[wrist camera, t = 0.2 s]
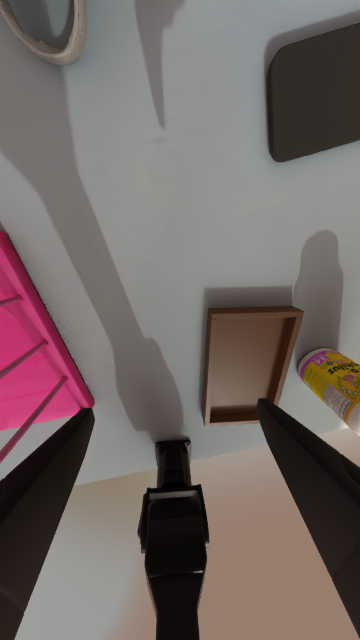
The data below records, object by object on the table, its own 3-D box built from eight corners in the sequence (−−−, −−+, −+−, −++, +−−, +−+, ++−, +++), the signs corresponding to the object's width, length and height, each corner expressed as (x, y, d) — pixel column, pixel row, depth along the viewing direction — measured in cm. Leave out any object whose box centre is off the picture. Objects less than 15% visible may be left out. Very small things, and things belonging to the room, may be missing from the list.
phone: (432, 117, 16) (274, 163, 16) (420, 123, 17) (269, 167, 17) (461, -11, 13) (270, 48, 14) (445, 4, 14) (265, 59, 14)
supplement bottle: (342, 344, 26) (488, 423, 14) (330, 379, 29) (445, 471, 17) (300, 347, 26) (412, 429, 14) (291, 382, 28) (379, 477, 16)
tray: (266, 411, 31) (273, 422, 29) (202, 415, 30) (204, 426, 28) (293, 306, 23) (304, 311, 21) (208, 308, 23) (211, 313, 21)
